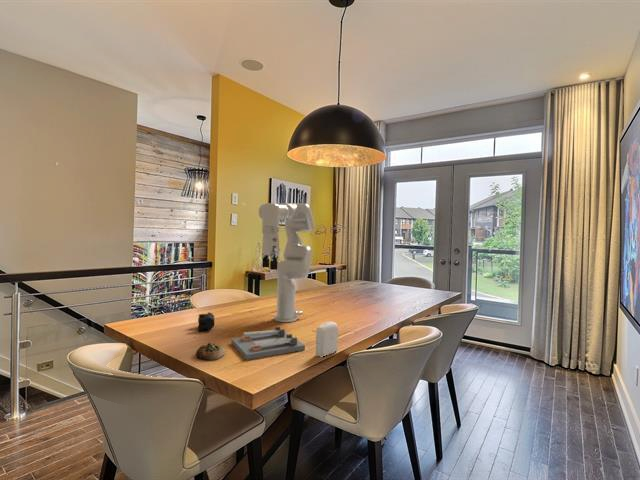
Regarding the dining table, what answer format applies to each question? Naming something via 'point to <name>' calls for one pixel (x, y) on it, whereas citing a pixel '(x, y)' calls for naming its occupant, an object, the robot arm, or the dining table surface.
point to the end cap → (205, 322)
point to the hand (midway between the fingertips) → (269, 268)
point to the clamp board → (253, 352)
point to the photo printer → (326, 338)
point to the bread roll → (210, 352)
